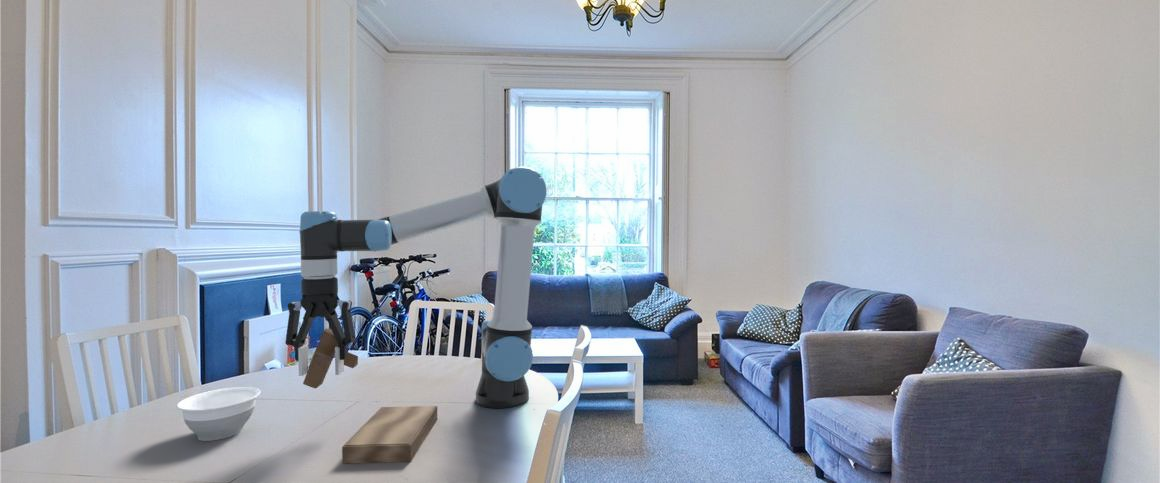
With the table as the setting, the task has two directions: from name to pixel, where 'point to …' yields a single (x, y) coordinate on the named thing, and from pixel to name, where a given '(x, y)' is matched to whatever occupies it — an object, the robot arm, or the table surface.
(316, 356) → the wooden block set
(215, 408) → the bowl
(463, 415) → the table surface
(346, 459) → the plinth
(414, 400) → the table surface
